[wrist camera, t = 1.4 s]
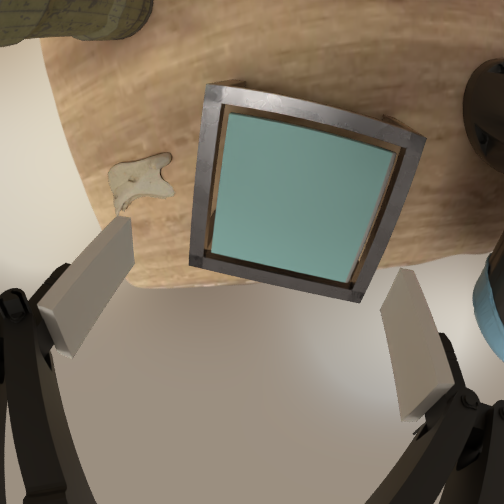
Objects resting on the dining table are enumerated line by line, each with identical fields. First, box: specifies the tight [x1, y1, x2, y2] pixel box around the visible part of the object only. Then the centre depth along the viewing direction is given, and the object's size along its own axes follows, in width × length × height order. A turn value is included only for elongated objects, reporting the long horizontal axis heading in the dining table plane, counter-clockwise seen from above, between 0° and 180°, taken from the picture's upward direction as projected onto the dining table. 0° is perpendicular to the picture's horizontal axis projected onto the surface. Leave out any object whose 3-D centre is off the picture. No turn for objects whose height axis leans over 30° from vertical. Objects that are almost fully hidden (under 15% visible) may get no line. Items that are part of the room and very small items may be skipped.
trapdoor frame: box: [189, 80, 427, 303], centre depth 32 cm, size 19×19×10 cm
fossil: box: [108, 153, 175, 216], centre depth 39 cm, size 7×11×4 cm, turn 105°
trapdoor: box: [211, 112, 396, 283], centre depth 28 cm, size 14×14×1 cm
